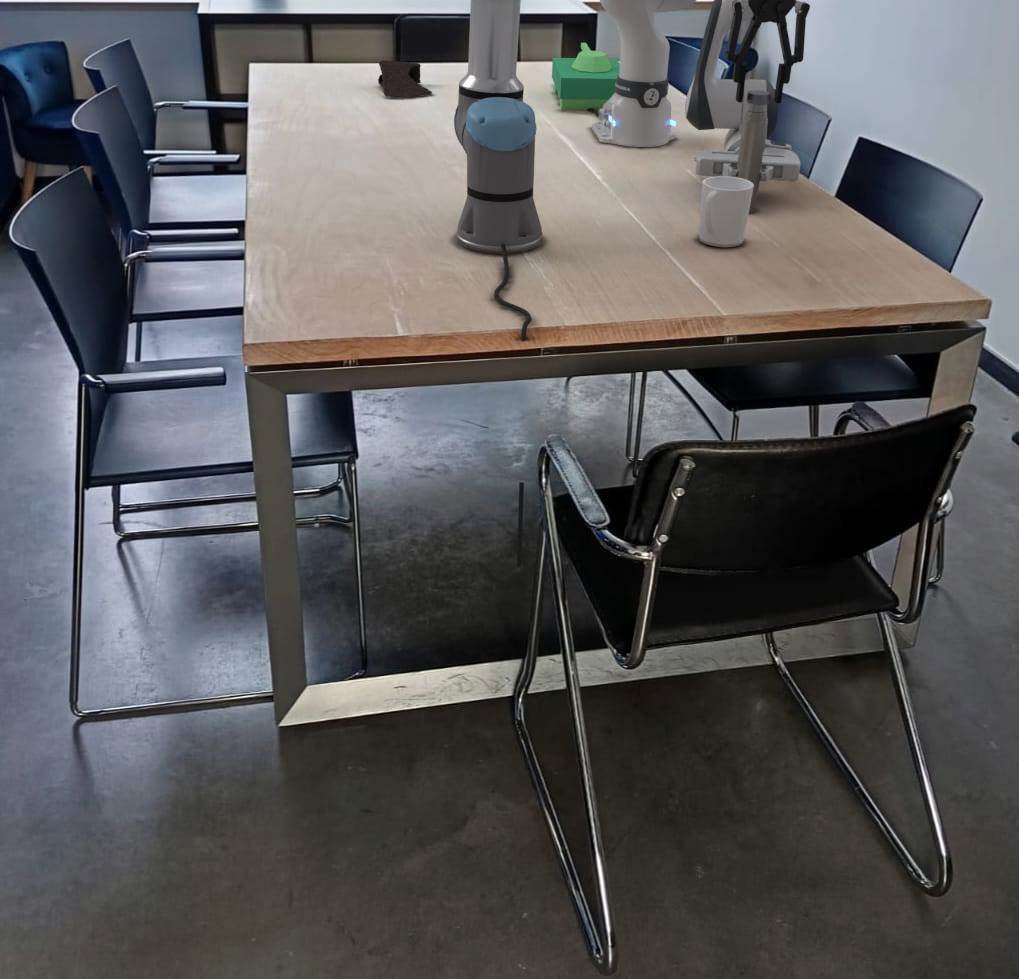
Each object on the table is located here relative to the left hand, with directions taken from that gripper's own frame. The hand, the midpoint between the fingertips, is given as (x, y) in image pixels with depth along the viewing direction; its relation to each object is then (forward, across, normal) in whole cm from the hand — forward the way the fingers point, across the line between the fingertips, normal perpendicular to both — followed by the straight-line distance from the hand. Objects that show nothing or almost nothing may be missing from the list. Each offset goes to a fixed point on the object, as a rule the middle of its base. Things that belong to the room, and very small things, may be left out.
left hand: (758, 101), depth 204 cm
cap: (-1, 0, 0) cm, 1 cm away
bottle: (+20, 0, 0) cm, 20 cm away
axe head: (+21, -75, +101) cm, 128 cm away
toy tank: (+21, -25, +97) cm, 102 cm away
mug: (+21, -8, -20) cm, 30 cm away
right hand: (+14, 0, -1) cm, 14 cm away
